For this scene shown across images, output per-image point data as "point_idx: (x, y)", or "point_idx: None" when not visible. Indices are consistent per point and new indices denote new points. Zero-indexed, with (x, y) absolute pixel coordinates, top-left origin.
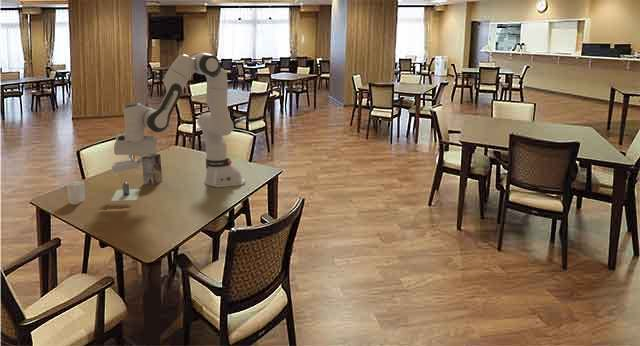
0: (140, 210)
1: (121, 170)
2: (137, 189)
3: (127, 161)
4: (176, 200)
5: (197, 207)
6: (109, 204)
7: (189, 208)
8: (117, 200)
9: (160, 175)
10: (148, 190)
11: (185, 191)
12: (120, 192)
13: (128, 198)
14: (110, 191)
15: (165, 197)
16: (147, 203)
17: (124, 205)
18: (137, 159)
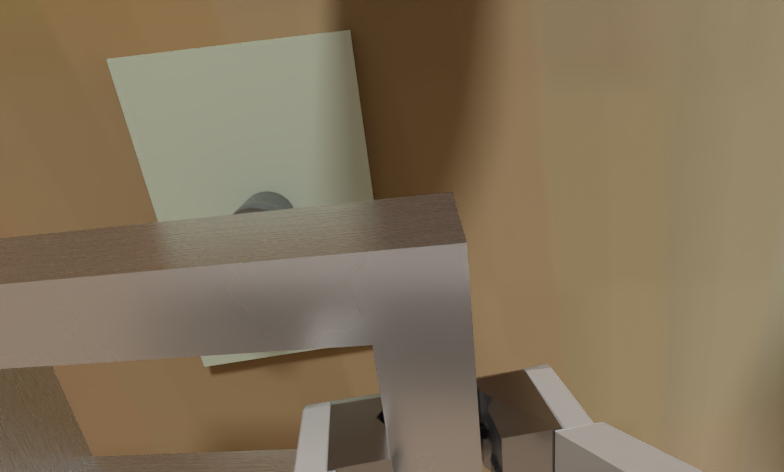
0: None
1: None
2: (321, 54)
3: (138, 353)
4: (666, 296)
5: (777, 409)
6: (214, 386)
7: (731, 426)
8: (252, 356)
9: None
10: (421, 28)
11: (751, 71)
12: (187, 153)
13: None
14: (44, 53)
15: (588, 232)
16: (475, 358)
17: (328, 399)
18: (449, 374)
